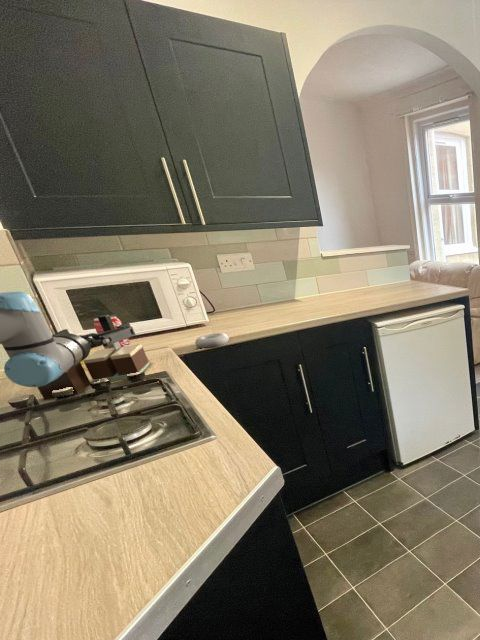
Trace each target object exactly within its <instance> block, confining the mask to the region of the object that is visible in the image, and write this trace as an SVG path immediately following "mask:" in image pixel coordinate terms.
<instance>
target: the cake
mask: <svg viewBox="0 0 480 640" xmlns="http://www.w3.org/2000/svg"><path fill="white" fill-rule="evenodd" d="M83 363H84V365H85V367H86V369H87V371H88V373H89V376H90V377H91V379H92V383H93V384H94V382H97V381H99V379H102V378H107V379H108V380H109V381H110V382H116V381H120V380H121V381H122V380H129V378H127V374H130V373H136V372H142V373H143V372H144V371H145V370H146V369H147V368H148V367H149V366H150V364H151V363H150V360H149V359H148V357H147V354H146V351H145V350H144V347H143V345H142V343H139V344H138V343H137V344H131V345H130V346H123V347H122V348H120V349H119V350H118V351H115V349H114V348H109V349H105V348H103V349H97V350H96V351H94V352H92V353H91V354H89V355H88V357H87V358H85V359H84V360H83Z"/></svg>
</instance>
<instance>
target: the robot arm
mask: <svg viewBox="0 0 480 640" xmlns="http://www.w3.org/2000/svg"><path fill="white" fill-rule="evenodd" d="M135 336H136V333H135V330H134V327H133V326H131V324H130V321H124V322H123V323H122V324H121V325H120V326H118V327H117V329H113V330H110V331H106V332H102V333H98V334H97V332H96V333H95V332H91V333H87V334H80V335H77V334H74V333H70V332H69V329H68V328H65V329H62V330H60V331H58V332H56V333H54V334H52V333H51V331H50V329H49V327H48V325H47V323H46V320H45V318H44V316H43V314H42V312H41V310H40V308H39V307H38V304H37V303H36V302H35V300H34V299H33V297H32V296H31V295H30V294H29V293H27V292H24V291H6V292H0V345H2V348H3V349H4V351H5V352H6V354H7V356H8V358H9V359H7V361H6V362H5V363H4V367H3V370H4V371H3V372H4V374H5V376H6V378H7V379H8V380H10V381H11V382H13V383H14V384H16V385H19V386H21V387H26V388H38V387H40V386H44V385H46V384H48V383H50V382H52V381H54V380H57V379H58V378H59V377H60V376H61V375H62V374H63V373H66V372H68V370H69V369H71V368H72V367H74V366H75V365H76V364H78V363H80V362H81V361H83V360H84V359H86V358H87V357H89V356H90V353H91V350H92V349H95V348H98V347H101V346H103V348H104V347H106V346H109V345H111V344H113V343H115V342H118V341H121V340H124V339H129V340H130V338H132V337H135ZM83 362H84V361H83Z"/></svg>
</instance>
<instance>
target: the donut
mask: <svg viewBox="0 0 480 640" xmlns="http://www.w3.org/2000/svg"><path fill="white" fill-rule="evenodd" d="M229 341H230V337H229V335H227V334H226V333H223V332H214V333H210V334H204V335H201V336H199V337H197V338H196V339H195V346H196V347H197V348H199V349H203V350H204V349H207V350H208V349H215V348H219V347H221V346H224V345H227V344H228V343H229Z"/></svg>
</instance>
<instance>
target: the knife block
mask: <svg viewBox="0 0 480 640" xmlns="http://www.w3.org/2000/svg"><path fill="white" fill-rule="evenodd" d="M91 384H92V383H91V381H90V379H89V377H88V375H87V373H86V371H85V369H84V366H83V364H82V365H81V363H78V364H76V365H75V366H74V367H72V368H71V369H69V370H68V372H66V373H63V374H62V375H61V376H60V377H59V378H58V379H57V380H54V381H52V382H50V383H48V384H46V385H44V386H40V387H37V389H38V391H39V393H40V395H41V396H42V399H43V401H45V400H46V401H47V400H52V399H56V398H55V397H54V396H53V395H52V391H53V390H59V389H63V388H66V387H73V390H74V391H73V394H72V395H71V396H76V395H79V394H80V393H82V391H84V390H85V389H87V387H89V386H90V385H91Z"/></svg>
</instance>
